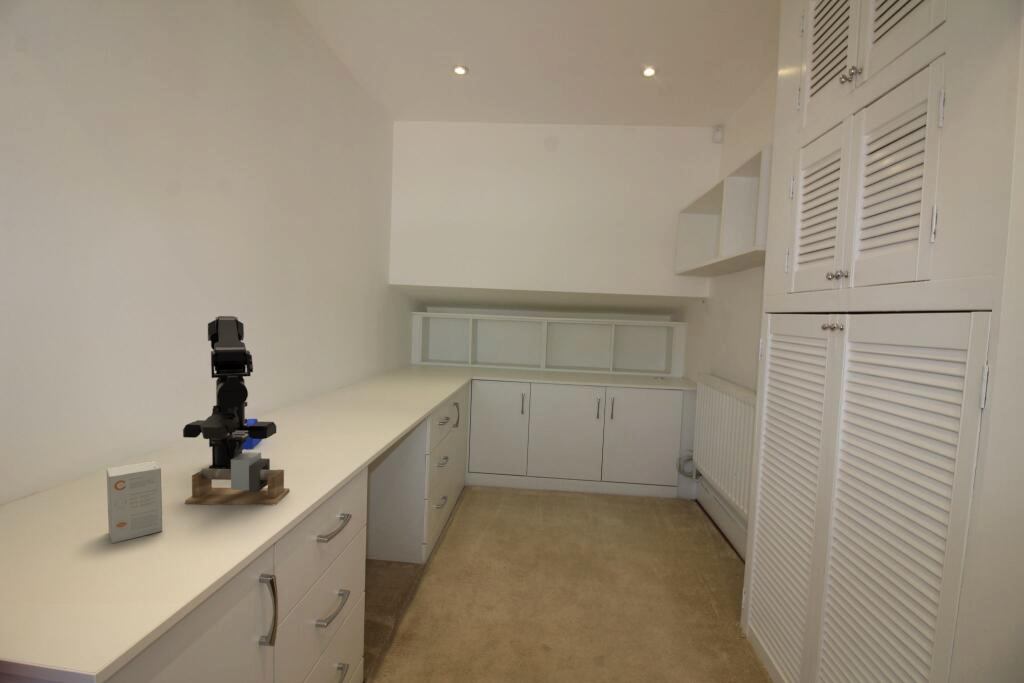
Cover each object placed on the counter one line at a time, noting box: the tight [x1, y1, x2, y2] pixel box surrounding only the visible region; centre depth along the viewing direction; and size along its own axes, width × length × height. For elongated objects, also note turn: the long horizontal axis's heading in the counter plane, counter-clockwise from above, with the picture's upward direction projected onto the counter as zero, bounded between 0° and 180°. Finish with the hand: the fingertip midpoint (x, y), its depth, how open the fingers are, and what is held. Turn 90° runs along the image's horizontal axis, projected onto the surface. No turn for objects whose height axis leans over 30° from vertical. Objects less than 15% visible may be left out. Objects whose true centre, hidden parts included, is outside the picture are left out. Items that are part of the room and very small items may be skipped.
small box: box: [106, 460, 163, 544], centre depth 96 cm, size 8×6×13 cm
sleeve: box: [230, 451, 262, 490], centre depth 115 cm, size 4×6×7 cm, turn 2°
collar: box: [249, 457, 271, 492], centre depth 115 cm, size 2×6×6 cm, turn 2°
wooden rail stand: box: [184, 467, 290, 506], centre depth 115 cm, size 20×8×7 cm, turn 92°
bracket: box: [242, 418, 263, 451], centre depth 161 cm, size 18×8×9 cm, turn 13°
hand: (231, 465), depth 115 cm, fingers closed
